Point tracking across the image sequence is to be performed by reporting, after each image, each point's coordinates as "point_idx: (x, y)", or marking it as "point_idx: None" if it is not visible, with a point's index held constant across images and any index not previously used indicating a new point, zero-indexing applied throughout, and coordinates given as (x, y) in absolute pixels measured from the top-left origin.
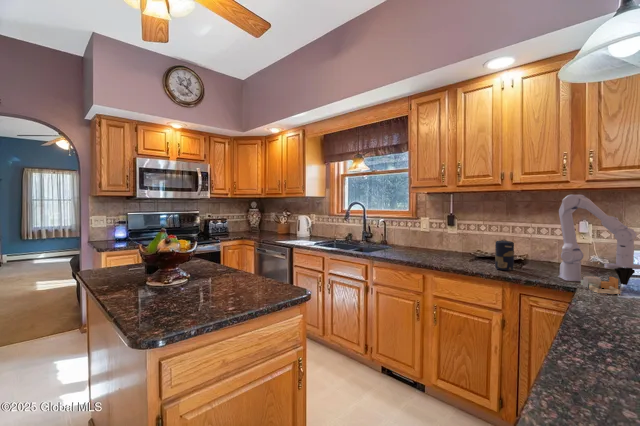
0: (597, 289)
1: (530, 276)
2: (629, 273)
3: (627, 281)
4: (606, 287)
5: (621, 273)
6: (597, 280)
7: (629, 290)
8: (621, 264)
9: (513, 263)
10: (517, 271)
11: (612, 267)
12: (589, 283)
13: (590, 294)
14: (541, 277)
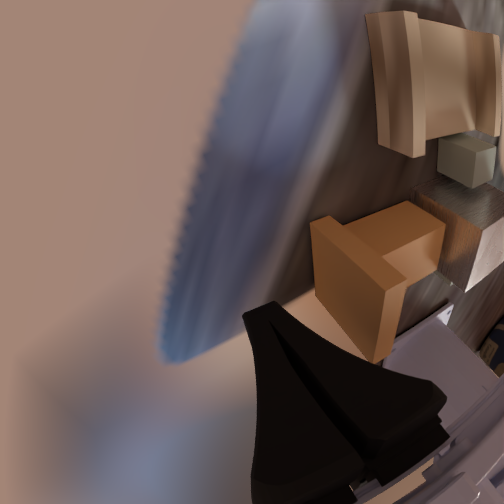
0: (494, 36)
1: (498, 290)
2: (312, 427)
3: (261, 335)
4: (386, 216)
5: (395, 377)
6: (481, 212)
7: (205, 275)
8: (485, 481)
9: (500, 352)
10: (481, 336)
11: (488, 401)
12: (491, 176)
13: (487, 19)
14: (482, 299)
